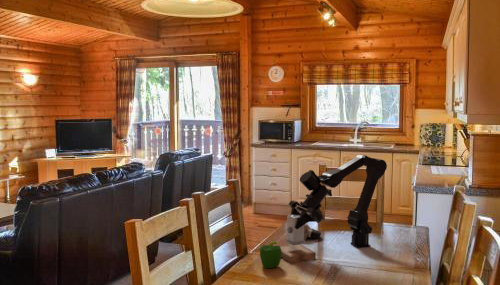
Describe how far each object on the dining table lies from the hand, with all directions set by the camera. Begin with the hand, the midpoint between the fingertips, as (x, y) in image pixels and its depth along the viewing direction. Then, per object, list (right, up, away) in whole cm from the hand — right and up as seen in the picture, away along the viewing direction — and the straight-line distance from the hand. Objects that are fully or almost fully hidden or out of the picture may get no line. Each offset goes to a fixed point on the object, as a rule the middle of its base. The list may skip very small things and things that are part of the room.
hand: (292, 227), depth 199 cm
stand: (+1, -12, +2) cm, 12 cm away
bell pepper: (-10, -14, -10) cm, 20 cm away
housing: (+1, -7, +1) cm, 7 cm away
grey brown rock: (+9, -10, +28) cm, 31 cm away
